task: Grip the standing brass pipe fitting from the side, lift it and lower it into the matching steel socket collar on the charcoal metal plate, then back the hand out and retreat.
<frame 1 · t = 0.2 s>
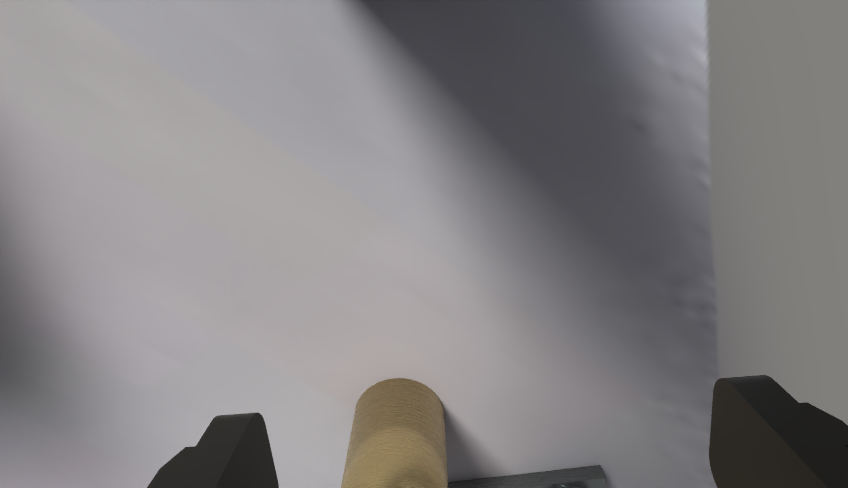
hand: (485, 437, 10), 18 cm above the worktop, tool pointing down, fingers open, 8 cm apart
brass fitting: (399, 416, 31), on the worktop
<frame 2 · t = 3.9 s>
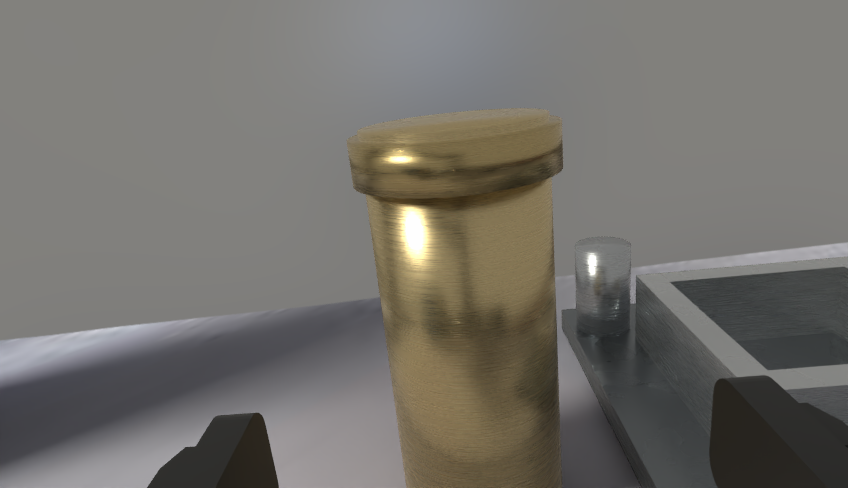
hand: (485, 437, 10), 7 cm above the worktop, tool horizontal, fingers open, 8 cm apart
socket plate: (800, 408, 20), on the worktop
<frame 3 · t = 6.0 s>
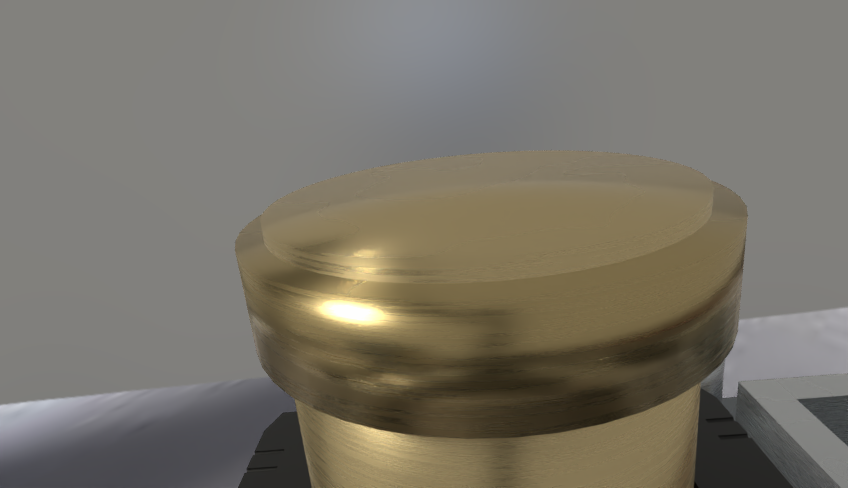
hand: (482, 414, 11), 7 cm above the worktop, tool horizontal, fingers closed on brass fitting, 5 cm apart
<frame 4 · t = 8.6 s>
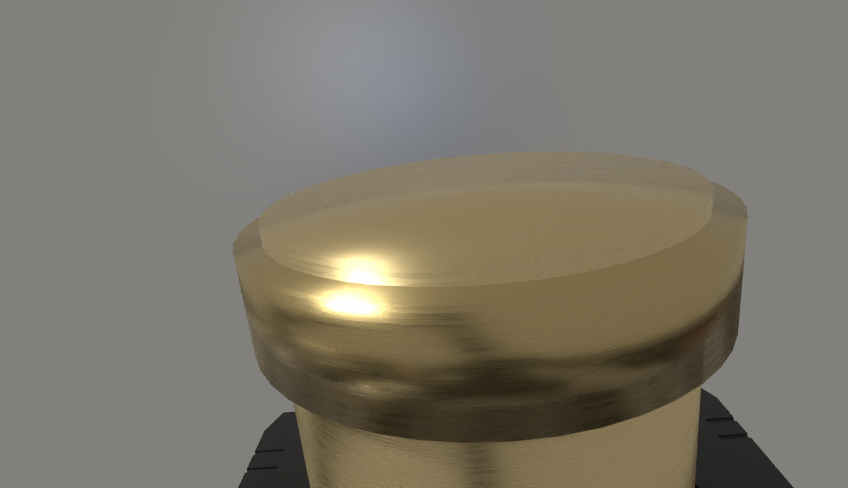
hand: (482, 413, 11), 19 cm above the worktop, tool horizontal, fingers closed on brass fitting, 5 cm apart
when the fingers open (9 cm above the worktop, at t = 11.2 s): brass fitting drops 1 cm, resting on socket plate.
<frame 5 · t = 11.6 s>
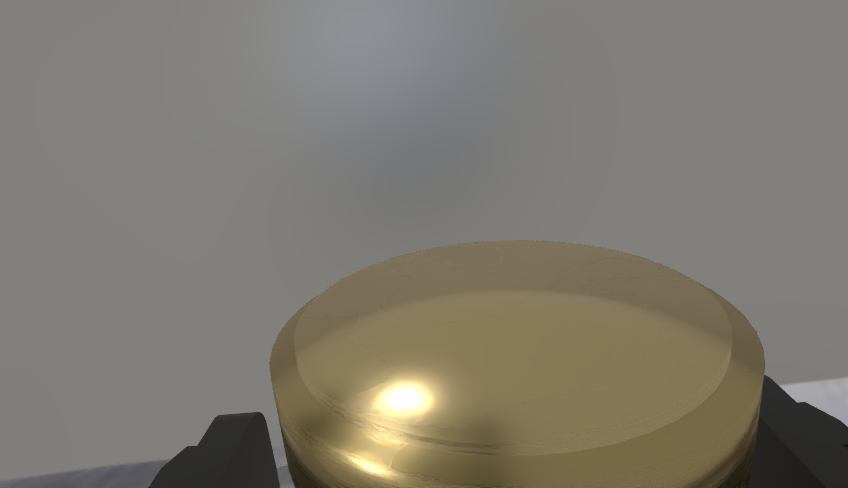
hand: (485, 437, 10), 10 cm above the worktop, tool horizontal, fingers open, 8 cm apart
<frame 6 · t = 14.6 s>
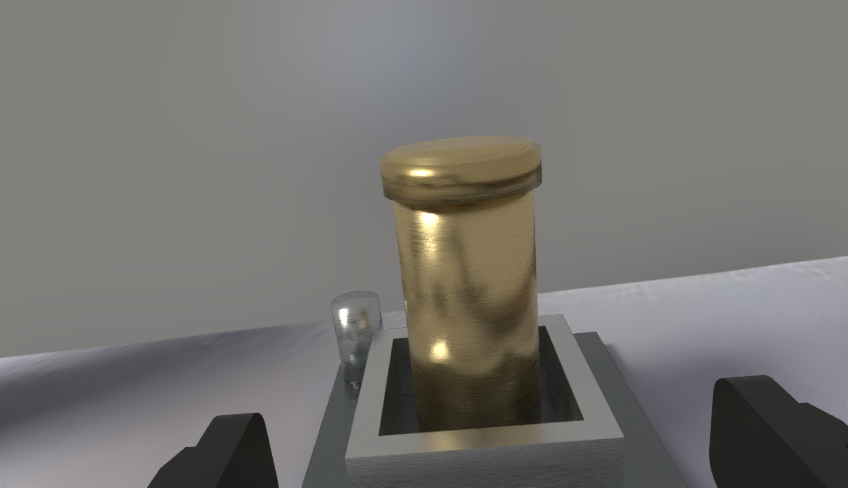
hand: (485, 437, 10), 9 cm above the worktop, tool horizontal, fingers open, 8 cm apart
brass fitting: (480, 436, 23), point 1 cm above the worktop, touching socket plate
socket plate: (481, 455, 23), on the worktop
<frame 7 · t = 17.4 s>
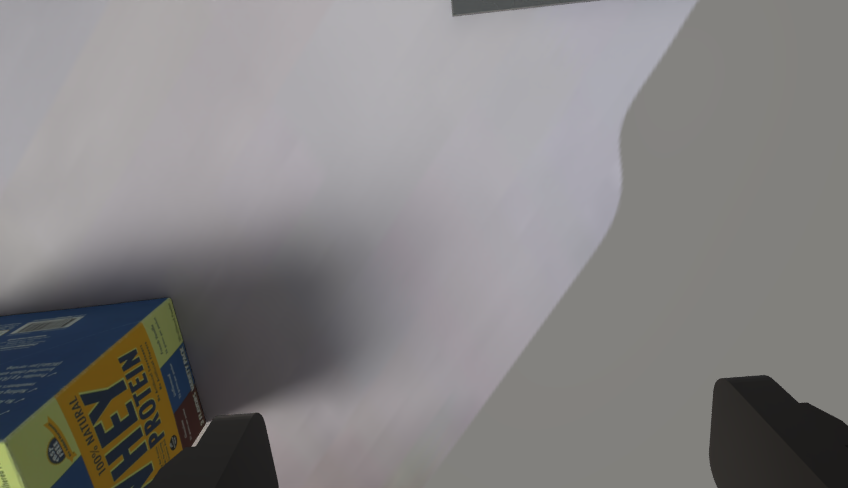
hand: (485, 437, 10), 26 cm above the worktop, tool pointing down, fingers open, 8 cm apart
protein box: (90, 370, 40), on the worktop
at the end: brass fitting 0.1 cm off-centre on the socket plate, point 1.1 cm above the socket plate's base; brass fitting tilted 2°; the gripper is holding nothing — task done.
